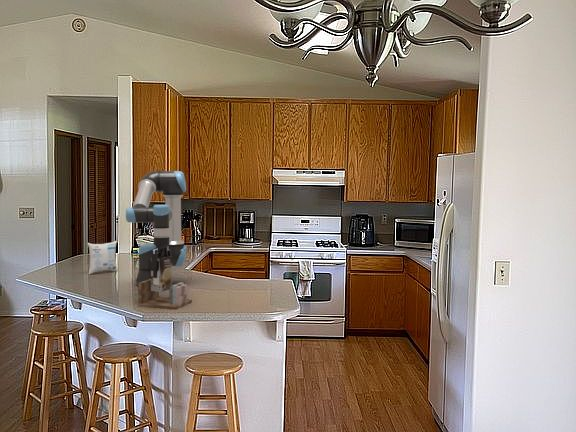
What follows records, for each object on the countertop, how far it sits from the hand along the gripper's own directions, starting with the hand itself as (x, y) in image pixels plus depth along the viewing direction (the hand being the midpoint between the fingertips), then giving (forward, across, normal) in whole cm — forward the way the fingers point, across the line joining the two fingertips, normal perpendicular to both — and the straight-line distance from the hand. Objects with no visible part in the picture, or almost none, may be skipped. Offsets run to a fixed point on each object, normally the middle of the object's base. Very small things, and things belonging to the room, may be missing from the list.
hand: (161, 282), depth 267 cm
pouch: (+11, -59, -78) cm, 98 cm away
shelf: (+10, 0, +2) cm, 11 cm away
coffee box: (+4, 0, 0) cm, 4 cm away
